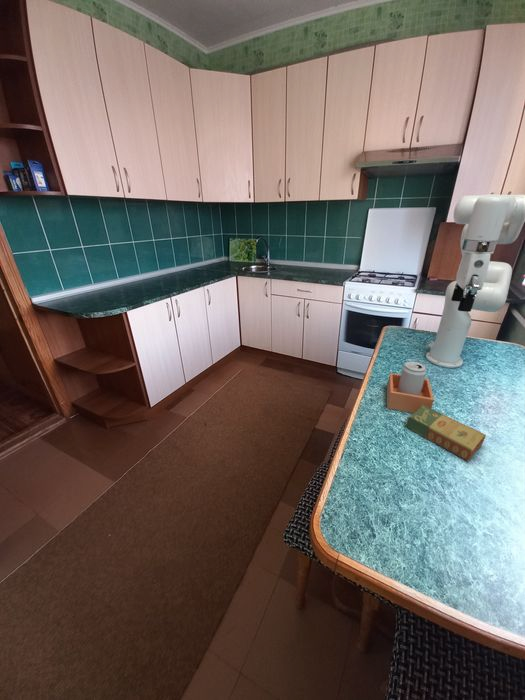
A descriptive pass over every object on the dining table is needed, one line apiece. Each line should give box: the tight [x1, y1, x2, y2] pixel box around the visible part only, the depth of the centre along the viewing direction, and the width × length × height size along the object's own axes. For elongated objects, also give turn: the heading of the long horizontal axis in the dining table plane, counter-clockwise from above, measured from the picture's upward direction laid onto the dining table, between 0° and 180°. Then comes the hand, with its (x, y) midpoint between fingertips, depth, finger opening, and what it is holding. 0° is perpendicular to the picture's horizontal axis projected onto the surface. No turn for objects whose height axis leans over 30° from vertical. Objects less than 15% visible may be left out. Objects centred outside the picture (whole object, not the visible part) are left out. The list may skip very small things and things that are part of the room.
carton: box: [406, 405, 486, 462], centre depth 77 cm, size 8×16×4 cm, turn 37°
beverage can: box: [397, 361, 427, 396], centre depth 89 cm, size 6×6×12 cm
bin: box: [386, 372, 435, 414], centre depth 91 cm, size 12×12×6 cm
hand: (460, 305), depth 88 cm, fingers open, 9 cm apart
